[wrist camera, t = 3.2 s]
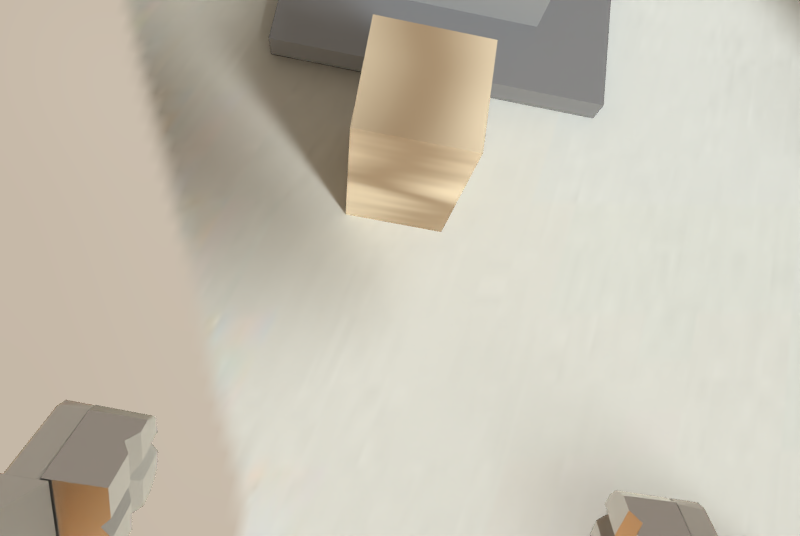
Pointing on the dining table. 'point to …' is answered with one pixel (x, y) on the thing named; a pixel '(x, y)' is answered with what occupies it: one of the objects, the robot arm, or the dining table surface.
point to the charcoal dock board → (477, 15)
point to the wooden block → (417, 122)
